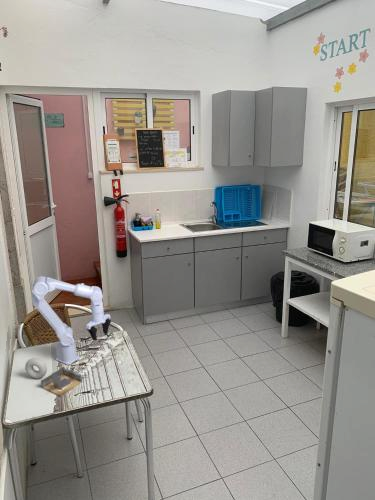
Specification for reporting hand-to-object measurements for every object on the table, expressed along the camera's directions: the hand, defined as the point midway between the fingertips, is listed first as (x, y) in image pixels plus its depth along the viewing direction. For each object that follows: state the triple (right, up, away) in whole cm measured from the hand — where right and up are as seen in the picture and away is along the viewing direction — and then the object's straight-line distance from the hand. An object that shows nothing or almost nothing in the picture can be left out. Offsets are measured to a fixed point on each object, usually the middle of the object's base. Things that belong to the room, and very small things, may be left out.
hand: (100, 336), depth 191 cm
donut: (-25, -15, -17) cm, 33 cm away
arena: (-11, -16, -22) cm, 30 cm away
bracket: (-11, -16, -24) cm, 30 cm away
